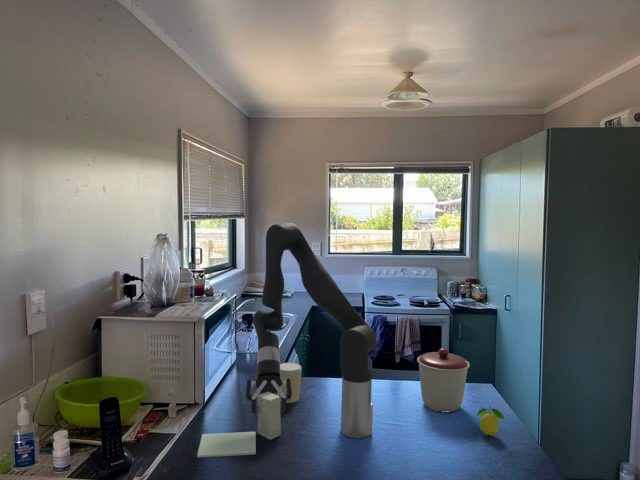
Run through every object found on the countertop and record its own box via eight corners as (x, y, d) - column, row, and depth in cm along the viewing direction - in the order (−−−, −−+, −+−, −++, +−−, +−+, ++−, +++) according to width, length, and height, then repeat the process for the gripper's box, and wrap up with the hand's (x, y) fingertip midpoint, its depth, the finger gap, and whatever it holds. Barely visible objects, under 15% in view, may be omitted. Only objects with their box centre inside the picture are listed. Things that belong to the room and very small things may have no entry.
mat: (255, 433, 136) (255, 431, 136) (255, 454, 124) (255, 452, 124) (202, 436, 134) (202, 434, 134) (197, 457, 122) (197, 455, 122)
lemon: (503, 440, 135) (505, 408, 134) (486, 441, 134) (487, 409, 133) (491, 430, 141) (493, 399, 141) (474, 431, 140) (476, 400, 140)
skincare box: (281, 435, 135) (281, 396, 134) (270, 440, 132) (270, 400, 131) (267, 428, 139) (268, 390, 139) (256, 433, 136) (257, 394, 135)
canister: (405, 404, 159) (407, 347, 158) (434, 392, 171) (436, 338, 170) (449, 423, 146) (451, 360, 145) (477, 408, 158) (480, 350, 156)
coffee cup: (297, 392, 168) (297, 361, 168) (304, 402, 160) (304, 369, 159) (273, 395, 165) (273, 363, 165) (279, 405, 157) (279, 372, 156)
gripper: (246, 358, 142) (245, 409, 131) (290, 357, 144) (293, 407, 134) (246, 369, 148) (245, 418, 137) (289, 368, 150) (291, 416, 139)
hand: (269, 412), depth 135 cm, fingers open, 8 cm apart
